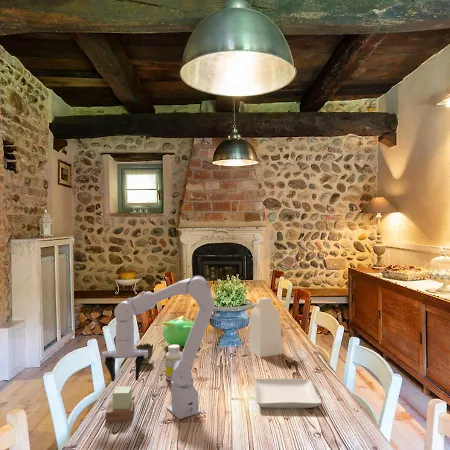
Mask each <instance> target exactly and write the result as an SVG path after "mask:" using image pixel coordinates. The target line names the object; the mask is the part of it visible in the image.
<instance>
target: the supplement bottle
mask: <svg viewBox="0 0 450 450" xmlns="http://www.w3.org/2000/svg"><path fill="white" fill-rule="evenodd" d="M180 348H181V347H180V346H179V345H170V344H169V345H168V346H167V350H168V352H166V354H165V378H166V380H168V381H170V382H171V381H172V373H173V370H174V364H175V362H176V361H177V360H178V359H179V358H180V356H181V353H182V351H180Z"/></svg>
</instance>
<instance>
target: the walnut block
mask: <svg viewBox="0 0 450 450" xmlns="http://www.w3.org/2000/svg"><path fill="white" fill-rule="evenodd" d="M134 412H135V399H132V402H131V405H130V407H129V409H113V400H110V401H109V403H108V404H107V407H106V411H105V423H106V424H107V423H109V424H110V423H118V422H119V423H120V422H121V423H123V422H132V421H133V418H134Z"/></svg>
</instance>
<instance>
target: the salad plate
mask: <svg viewBox="0 0 450 450" xmlns="http://www.w3.org/2000/svg"><path fill="white" fill-rule="evenodd" d="M254 385H255V393H256V395H255V396H256V404H257V405H258V406H259V407H262V408H265V409H266V408H270V409H308V408H310V409H311V408H317V407H319V406H320V405H321V404H322V400H321V399H320V397H319V395H318V393H317V390H316V389H315V387H314V384H313V382H312V380H311V379H309V378H256V379H254Z"/></svg>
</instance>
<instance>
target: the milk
mask: <svg viewBox="0 0 450 450" xmlns="http://www.w3.org/2000/svg"><path fill="white" fill-rule="evenodd" d="M249 313H250V314H249V330H248V331H249V336H248V339H249V340H248V351H249V350H250V351H251V352H250V351H249V352H250V353H252V352H253V353H252V354H254V355H255V354H256V356H257V357H259V358H266V357H272V356H278V355H279V356H280V355H282V354H283V349H282V348H283V346H282V332H281V317H280V313H279V311H278V310H277V308H276V307H275V305H274V303H273V302H272V298H271V297H262V298H258V300H257V302H256V304H255V306H254V307H253V309H251V311H250V312H249Z"/></svg>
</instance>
